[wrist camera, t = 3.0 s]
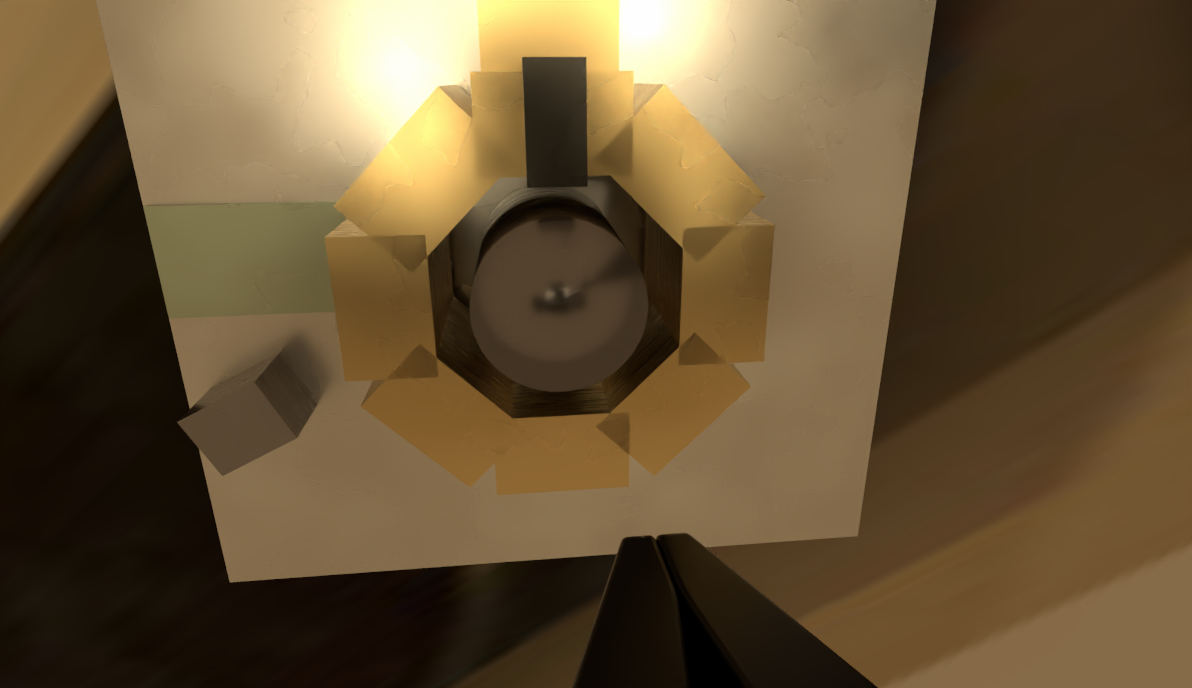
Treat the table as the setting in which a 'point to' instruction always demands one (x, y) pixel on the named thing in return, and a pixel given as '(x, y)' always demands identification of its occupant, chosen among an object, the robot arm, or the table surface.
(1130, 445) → the table surface
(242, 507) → the post base
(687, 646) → the robot arm
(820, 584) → the table surface
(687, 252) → the octagonal ring with handle
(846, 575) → the table surface
